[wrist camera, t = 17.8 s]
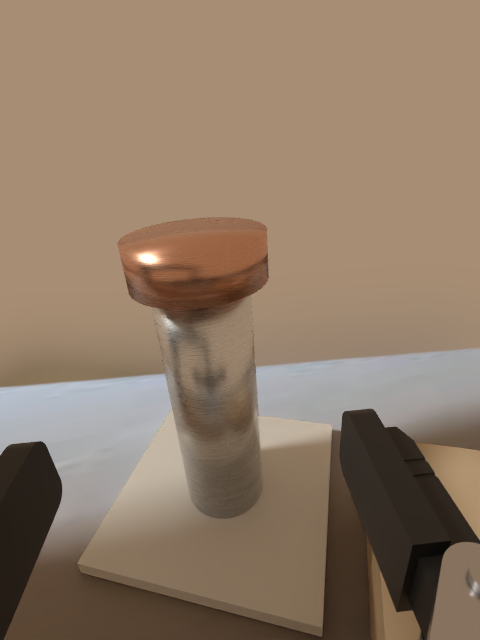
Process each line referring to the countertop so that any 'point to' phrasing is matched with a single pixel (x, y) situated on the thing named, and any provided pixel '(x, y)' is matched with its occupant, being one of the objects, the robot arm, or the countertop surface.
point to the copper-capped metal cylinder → (207, 347)
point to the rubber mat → (226, 531)
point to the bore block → (474, 503)
